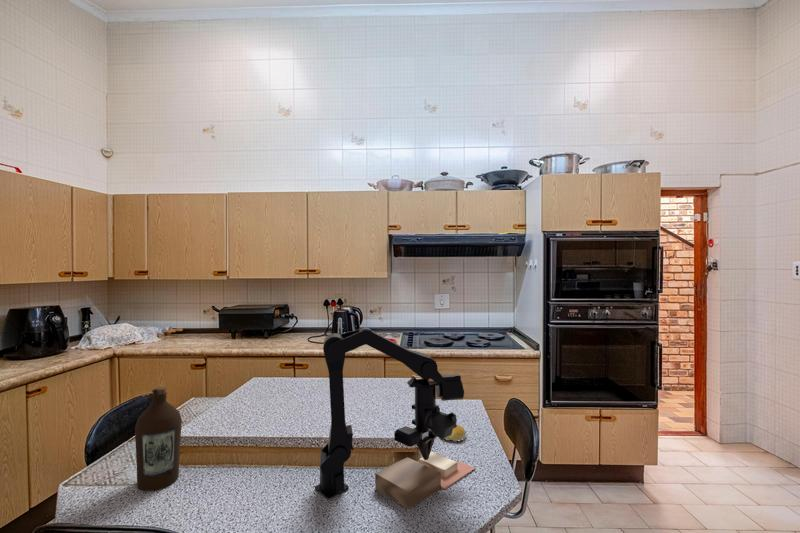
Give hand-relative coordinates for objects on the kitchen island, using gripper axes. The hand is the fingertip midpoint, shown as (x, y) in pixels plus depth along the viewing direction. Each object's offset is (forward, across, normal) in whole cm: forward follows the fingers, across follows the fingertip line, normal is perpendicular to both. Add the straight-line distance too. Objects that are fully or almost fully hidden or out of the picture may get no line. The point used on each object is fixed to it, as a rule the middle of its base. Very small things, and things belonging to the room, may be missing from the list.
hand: (425, 459), depth 102 cm
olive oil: (+5, -52, +50) cm, 72 cm away
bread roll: (+6, +26, +11) cm, 29 cm away
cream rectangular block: (+3, +6, +1) cm, 7 cm away
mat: (+5, +6, 0) cm, 8 cm away
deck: (+5, -7, 0) cm, 9 cm away
